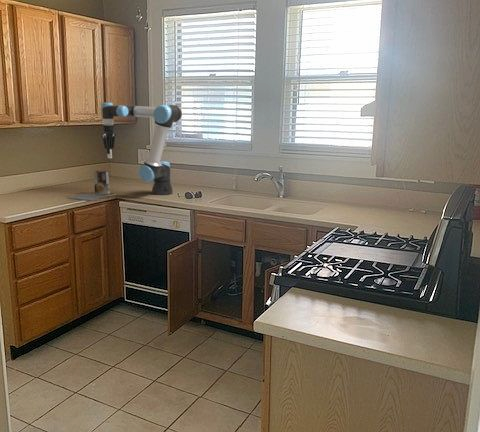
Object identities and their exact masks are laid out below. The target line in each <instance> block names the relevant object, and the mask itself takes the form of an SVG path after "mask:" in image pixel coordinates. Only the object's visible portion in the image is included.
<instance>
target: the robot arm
mask: <svg viewBox="0 0 480 432" xmlns="http://www.w3.org/2000/svg"><path fill="white" fill-rule="evenodd" d="M181 109H182V108H180V107H179V106H178V105H177V104H176V105H175V104H161V105H158V106H144V105H143V106H142V105H114V104H113V102H102V103H101V113H102V130H103V131H104V132H103V135H102V134H101V138H102V141H103V142H102V143H103V146H104V149H105V150H106V153H107V159H113V150H114V148H115V142H116V134H115V133H114V131H115V126H114V124H115V121H114V118H116V117H117V118H119V117H120V118H126V117H133V118H137V117H139V118H150V119H154V124H155V128H154V133H153V137H152V140H151V144H150V149H149V153H148V156H147V158H146V159H145V160H144V162H143V165H141V166H140V167H139V170H138V174H139V177H140V179H141V181H143V182H147V183H152V182H153V185H152V188H151V194H153V195H157V196H166V195H172V194H174V189H173V186H172V183H171V164H170V162H168V161H161V160H162V155H163V152H164V148H165V144H166V140H167V138H168V134H169V131H170V129H171V128H172V127H173V124H174V123H176V122H179V121H180V120H181V118H182V115H183V113H182V110H181Z"/></svg>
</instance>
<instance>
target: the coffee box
mask: <svg viewBox="0 0 480 432" xmlns="http://www.w3.org/2000/svg"><path fill="white" fill-rule="evenodd" d="M93 182H94V184H93V185H94V194H97V195H106V196H108V195H110V194H111V188H110V171H109V170H96V171H94V172H93Z"/></svg>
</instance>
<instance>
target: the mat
mask: <svg viewBox="0 0 480 432" xmlns="http://www.w3.org/2000/svg"><path fill="white" fill-rule="evenodd" d="M108 197H109V195H102V194H95V193H89V192H88V193H87V192H86V193H81V194H77V195H73V196H68V197H67V199H71V200H78V201H87V202H89V201H90V202H93V201H96V200H100V199H104V198H108Z"/></svg>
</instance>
